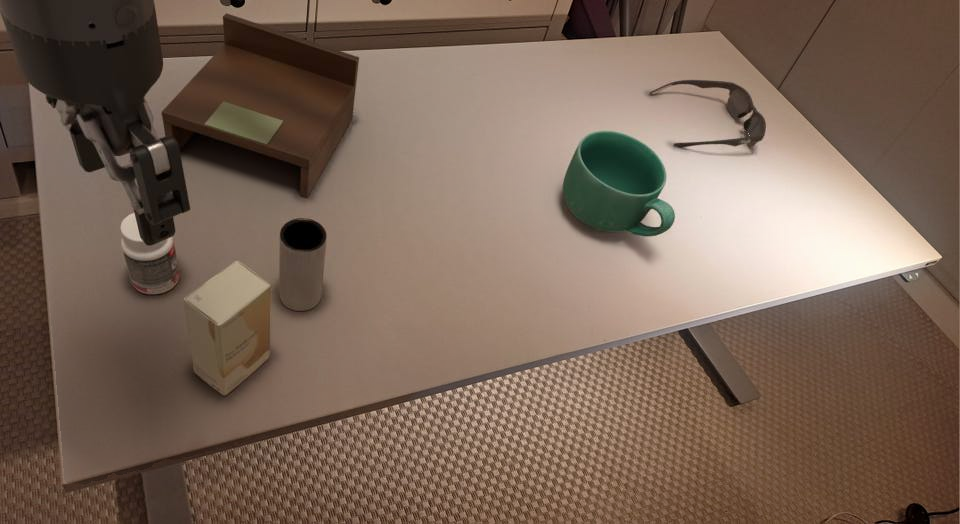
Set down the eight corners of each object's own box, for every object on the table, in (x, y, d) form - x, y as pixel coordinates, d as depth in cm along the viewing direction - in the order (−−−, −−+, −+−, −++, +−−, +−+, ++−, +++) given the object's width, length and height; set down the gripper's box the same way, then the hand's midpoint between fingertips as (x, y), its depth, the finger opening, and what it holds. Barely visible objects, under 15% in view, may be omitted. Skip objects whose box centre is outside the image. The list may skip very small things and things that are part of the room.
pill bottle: (186, 286, 70) (177, 235, 64) (139, 301, 68) (125, 250, 62) (171, 255, 72) (161, 202, 66) (124, 268, 70) (110, 215, 64)
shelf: (307, 198, 82) (310, 133, 74) (167, 153, 81) (156, 83, 74) (352, 120, 94) (359, 57, 86) (230, 80, 93) (226, 12, 85)
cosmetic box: (225, 398, 64) (216, 329, 54) (192, 372, 64) (178, 300, 55) (273, 355, 68) (273, 284, 58) (242, 331, 68) (237, 257, 59)
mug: (537, 190, 93) (559, 139, 86) (601, 171, 100) (626, 122, 93) (609, 276, 86) (639, 228, 79) (673, 249, 92) (706, 202, 85)
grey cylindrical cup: (293, 318, 71) (295, 258, 63) (271, 289, 73) (270, 227, 65) (329, 300, 73) (335, 240, 66) (307, 273, 75) (310, 211, 67)
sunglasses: (763, 159, 112) (777, 137, 108) (672, 160, 109) (682, 136, 105) (728, 98, 122) (739, 76, 118) (643, 97, 119) (652, 74, 115)
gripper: (-58, -57, 36) (26, 161, 48) (70, 88, 31) (127, 289, 44) (84, -76, 40) (128, 128, 53) (214, 49, 36) (229, 241, 48)
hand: (127, 201), depth 48 cm, fingers open, 8 cm apart
